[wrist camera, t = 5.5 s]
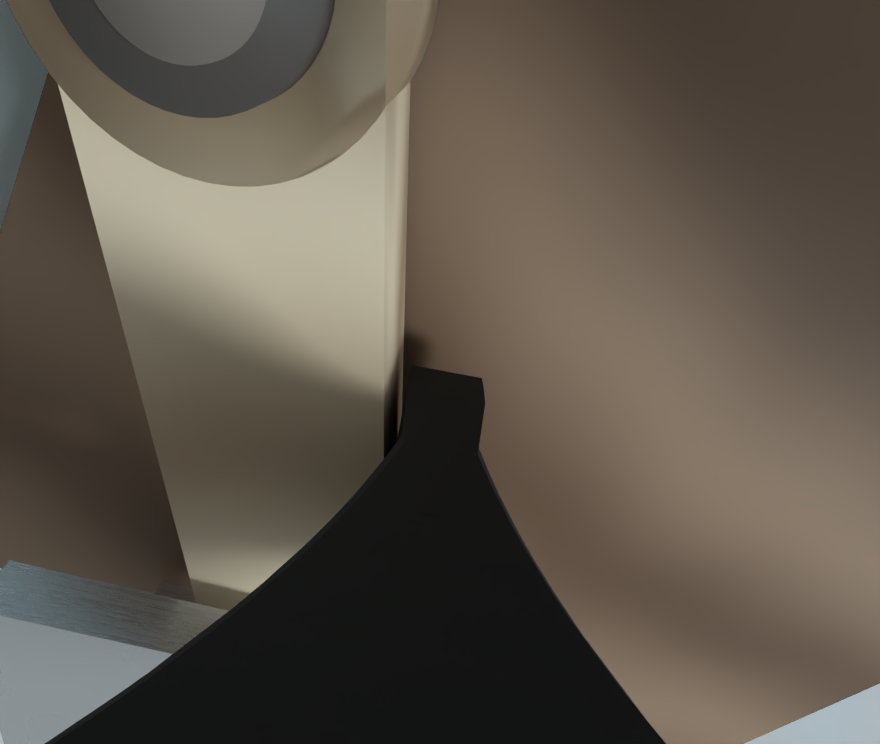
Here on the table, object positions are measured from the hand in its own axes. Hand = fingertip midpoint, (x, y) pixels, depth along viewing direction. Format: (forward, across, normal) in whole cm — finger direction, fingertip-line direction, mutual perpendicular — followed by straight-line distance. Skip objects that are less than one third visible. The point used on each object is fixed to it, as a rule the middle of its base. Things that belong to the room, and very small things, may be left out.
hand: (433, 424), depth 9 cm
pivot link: (+1, +2, -1) cm, 2 cm away
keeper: (+1, +4, +5) cm, 7 cm away
